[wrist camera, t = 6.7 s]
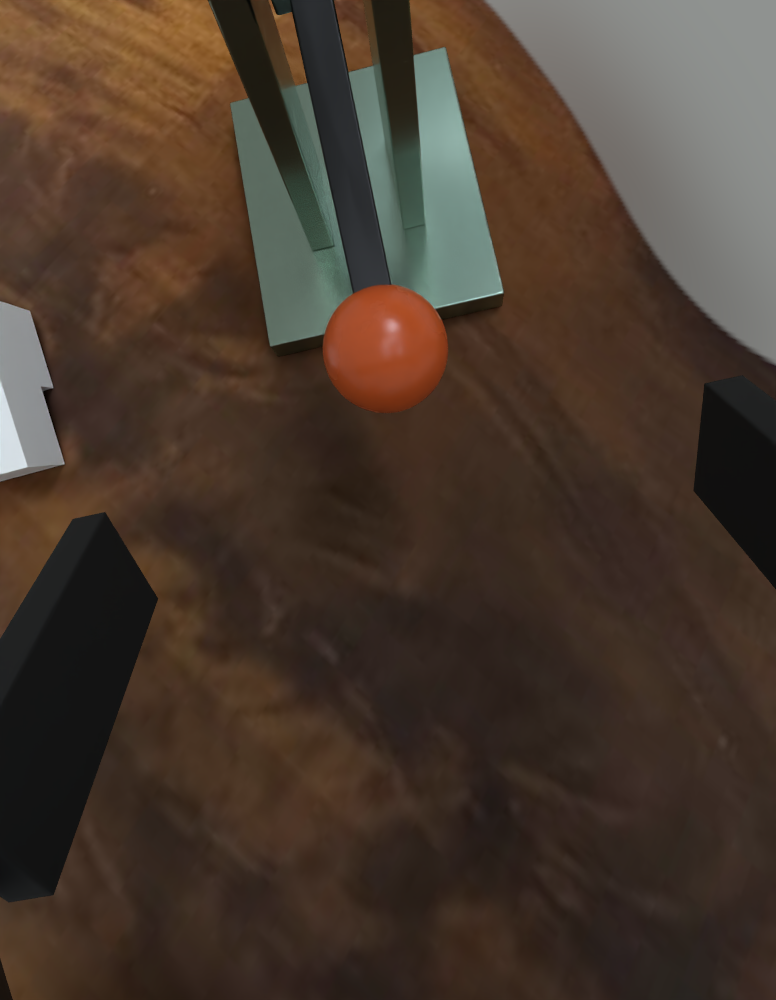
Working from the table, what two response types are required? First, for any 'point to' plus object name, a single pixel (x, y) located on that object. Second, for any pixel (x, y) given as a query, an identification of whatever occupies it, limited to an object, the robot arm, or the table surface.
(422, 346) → the clamp lever
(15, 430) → the bracket
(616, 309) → the table surface
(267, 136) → the clamp
